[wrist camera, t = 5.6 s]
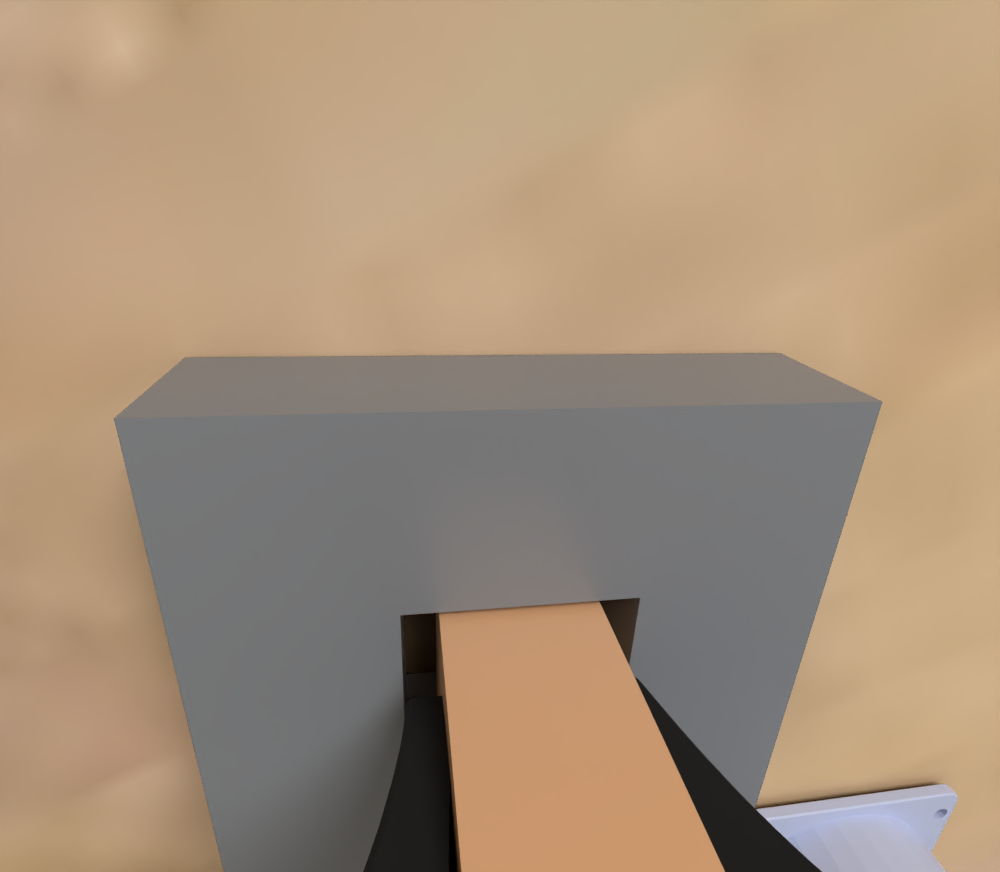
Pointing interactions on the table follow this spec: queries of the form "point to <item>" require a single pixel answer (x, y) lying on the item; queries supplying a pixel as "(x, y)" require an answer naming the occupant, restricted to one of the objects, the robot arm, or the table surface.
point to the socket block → (472, 551)
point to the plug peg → (557, 749)
